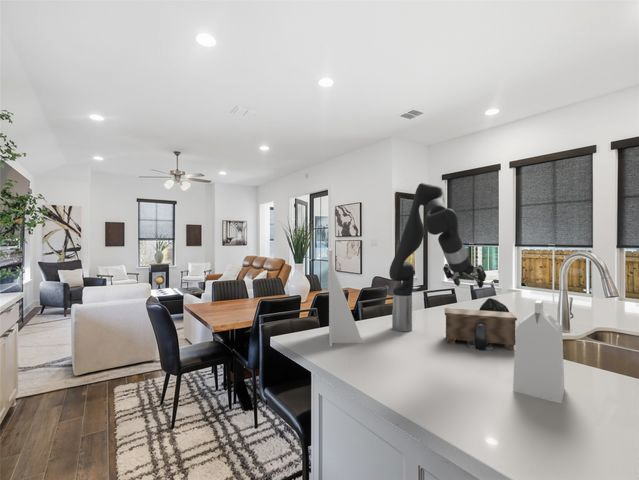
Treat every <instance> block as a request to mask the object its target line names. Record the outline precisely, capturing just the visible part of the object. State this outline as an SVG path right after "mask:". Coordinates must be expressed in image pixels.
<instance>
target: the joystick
mask: <svg viewBox="0 0 639 480" xmlns="http://www.w3.org/2000/svg"><path fill="white" fill-rule="evenodd" d="M466 343H467V347H468V348H469V349H475V350H476V351H493V350H494V347H493V345H492V343H489V342H486V324H482V323H475V341H468V340H466Z"/></svg>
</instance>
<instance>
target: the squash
mask: <svg viewBox="0 0 639 480" xmlns="http://www.w3.org/2000/svg"><path fill="white" fill-rule="evenodd" d="M479 310H481V311H496V312H510V310H509V309H508V306H506V305H505V304H504V303H502V302H500V301H499V300H497V299H495V298H493V297H489V298H487V299H486V300H485V301H484V302H483V303H482V304H481V305H480V307H479Z"/></svg>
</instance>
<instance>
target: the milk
mask: <svg viewBox="0 0 639 480" xmlns="http://www.w3.org/2000/svg"><path fill="white" fill-rule="evenodd" d="M562 327H563V326H562V325H561V324H560V322H558V319H557V318H556V317H555V316H554V315H553V314H552V313H550V312H548V311H546V310H545V309H544V300H542V299H541V300H540V299H537V300H536V301H535V302H534V310H533V312H531V313H530V314H528V315H527V316H526V317H524V318H523V319H521V320H520V321H519V323H518V324H517V325H516V327H515V345H514V361H513V362H514V365H513V383H512V392H515V393H517V394H518V393H519V394H523V395H526V396H530V397H534V398H538V399H543V400H546V401H551V402H554V403H558V404H563V399H564V393H565V370H564V369H565V366H564V345H563V344H564V342H563V340H564V339H563V328H562Z"/></svg>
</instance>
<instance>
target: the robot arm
mask: <svg viewBox="0 0 639 480" xmlns="http://www.w3.org/2000/svg"><path fill="white" fill-rule="evenodd" d="M421 206H424V207H425V212H426V214H425V217H424V222H423V220H422V217H421V213H420V207H421ZM406 221H407V222H406V223H405V226H404V229H403V231H402V235H401V238H400V242H399V244H398V245H399V246H398V248H397V251H396V253H395V255H394V257H393V260H392V262H391V264H390V267H389V272H388V273H389V278H390V280H392V281H394V282H401V284H399V285H398V286H396V287H394V288H393V289H392V310H391V311H392V312H391V316H392V317H391V319H392V321H391V324H392V325H391V327H392V330H394V331H397V332H410V331H412V330H413V292H414V278H415V276H414V275H415V269H414V265H413V264H412V263H411V262H408V261H407V259H408V258H409V257H410V256H411V255H413V254H414V253H415V252H416V251H417V250H418V249H419V248H420V246H421V244H422V243H423V239H424V236H425V233H426V231H427V233H428V234H429V235H434V236H436V235H439V236H438V239H437V240H438V243H439V245H440V248H441V250H442V252H443V255H444V259H445V260H446V263H445V264H444V265H443V268H442V270H443V272H444V275H445V277H446V279H448V280H449V279H451V280H452V281H453V283H454V284H455V285H456V286H457V287H460V285H461V281H460V279H459V277H464V278H470V279H471V280H474V281H476V283H477V285H478V288H479V289H482V288H483V287H484V284H485V281H486V277H487V274H486V272H485V269H484V268H483V266H482V265H481V264H478V265H477V266H474V265H473V264H472V261H471V259H470V256H469V254H468V252H467V248H466V246H465V245H464V244H463V241H462V239H461V237H460V234H459V221H458V215H457V213H456V212H455V210H454V209H452V208H447V207H446V205H445V192H444V189H443V187H440V186H439V185H433V184H430V183H424V182H421V183H419V184H418V186H417V188H416V190H415V192H414V196H413V200H412V204H411V208H410V212H409V216H408V218H407V220H406ZM423 223H424V224H423ZM425 230H426V231H425ZM452 272H453V273H452Z"/></svg>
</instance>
